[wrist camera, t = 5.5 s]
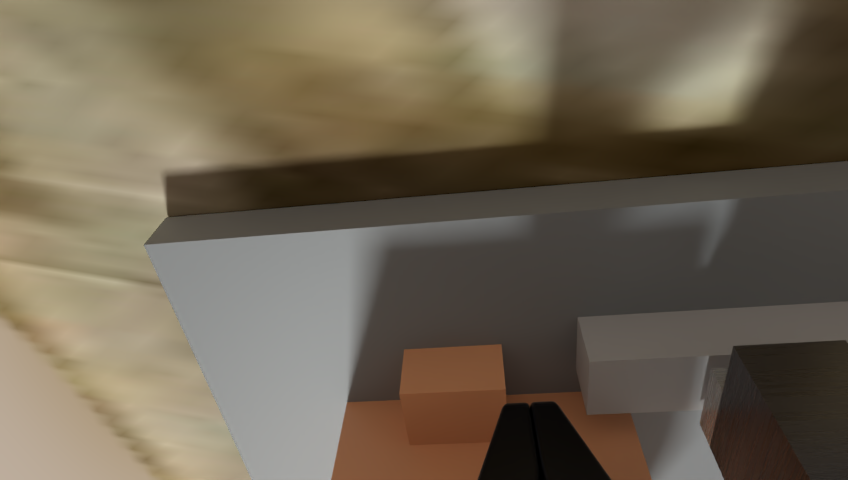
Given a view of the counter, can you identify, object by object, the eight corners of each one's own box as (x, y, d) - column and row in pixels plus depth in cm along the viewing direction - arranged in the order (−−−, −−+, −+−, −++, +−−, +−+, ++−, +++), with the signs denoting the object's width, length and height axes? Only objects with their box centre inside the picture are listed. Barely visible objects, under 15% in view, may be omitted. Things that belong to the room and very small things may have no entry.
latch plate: (1045, 144, 10) (1180, 209, 8) (840, 553, 17) (887, 637, 15) (166, 217, 12) (111, 283, 10) (311, 561, 19) (295, 638, 17)
